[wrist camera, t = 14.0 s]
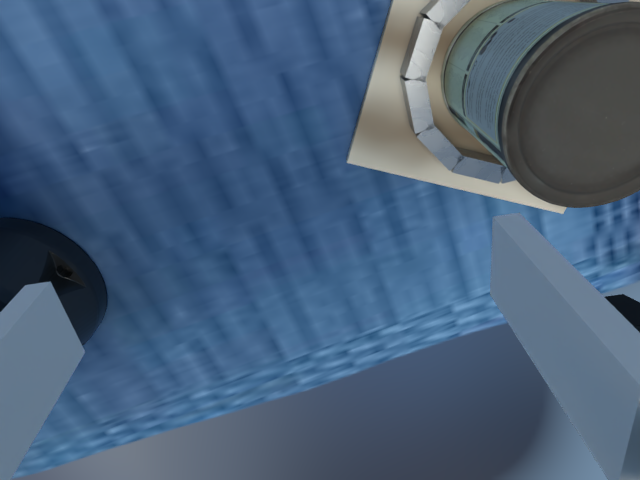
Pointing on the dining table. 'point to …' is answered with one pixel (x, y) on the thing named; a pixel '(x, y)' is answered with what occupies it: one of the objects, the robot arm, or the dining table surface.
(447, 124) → the birch board
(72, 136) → the dining table surface
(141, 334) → the dining table surface
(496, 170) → the steel collar
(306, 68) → the dining table surface
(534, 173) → the coffee can
